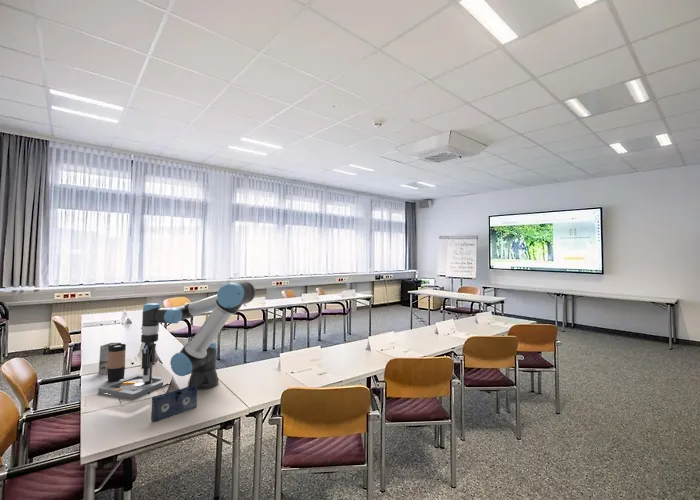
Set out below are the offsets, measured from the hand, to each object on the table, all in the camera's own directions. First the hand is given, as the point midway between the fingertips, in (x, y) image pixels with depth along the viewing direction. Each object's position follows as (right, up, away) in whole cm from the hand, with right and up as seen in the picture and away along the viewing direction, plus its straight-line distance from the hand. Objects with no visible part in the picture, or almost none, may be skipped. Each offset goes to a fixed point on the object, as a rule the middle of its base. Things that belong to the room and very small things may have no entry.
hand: (147, 379), depth 167 cm
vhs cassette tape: (+27, -6, -25) cm, 37 cm away
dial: (-5, -4, -1) cm, 7 cm away
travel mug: (-23, -6, +10) cm, 26 cm away
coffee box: (-39, -6, +27) cm, 48 cm away
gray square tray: (-5, -5, -1) cm, 8 cm away
